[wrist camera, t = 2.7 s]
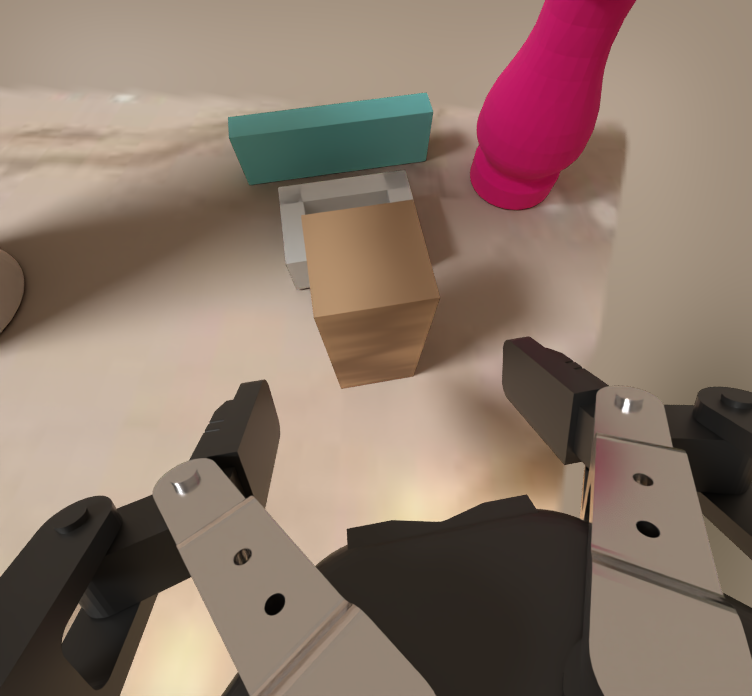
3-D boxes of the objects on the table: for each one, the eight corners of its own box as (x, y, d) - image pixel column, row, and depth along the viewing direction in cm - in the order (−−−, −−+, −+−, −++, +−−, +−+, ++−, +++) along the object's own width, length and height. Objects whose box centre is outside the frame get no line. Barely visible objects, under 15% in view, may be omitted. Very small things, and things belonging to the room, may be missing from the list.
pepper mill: (471, 138, 29) (641, -485, 10) (560, 154, 28) (915, -481, 10) (455, 205, 27) (642, -454, 8) (552, 225, 26) (1010, -445, 7)
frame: (296, 289, 24) (285, 263, 21) (288, 219, 26) (277, 187, 23) (419, 270, 24) (425, 242, 21) (402, 202, 26) (405, 169, 24)
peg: (341, 388, 22) (313, 317, 12) (331, 322, 23) (300, 215, 14) (413, 376, 22) (440, 297, 12) (398, 312, 23) (413, 199, 14)
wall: (249, 185, 27) (228, 137, 24) (247, 166, 28) (228, 117, 24) (425, 160, 28) (433, 111, 24) (420, 142, 29) (426, 92, 25)
